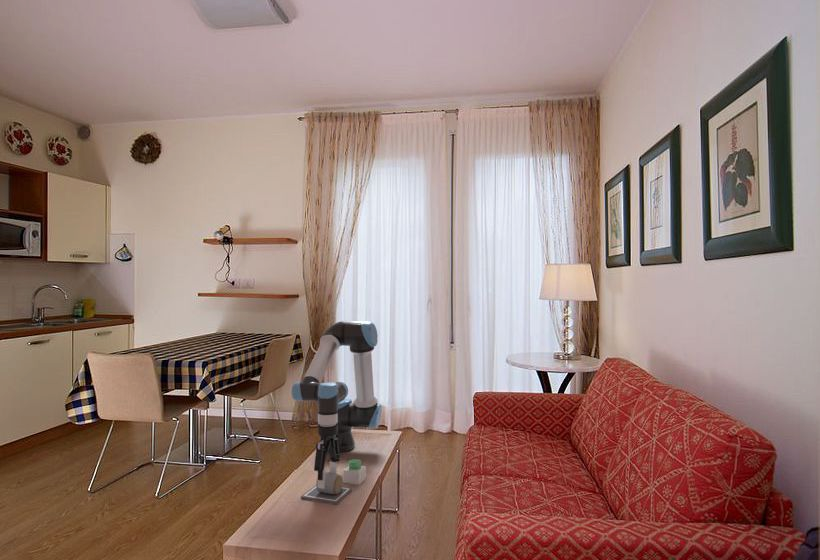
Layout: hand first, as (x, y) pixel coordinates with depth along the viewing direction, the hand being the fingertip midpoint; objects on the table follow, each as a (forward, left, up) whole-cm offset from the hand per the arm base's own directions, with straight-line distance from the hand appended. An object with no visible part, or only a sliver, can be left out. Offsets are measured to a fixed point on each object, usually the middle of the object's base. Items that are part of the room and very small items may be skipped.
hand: (327, 483), depth 186 cm
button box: (-16, +4, -4) cm, 17 cm away
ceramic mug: (-1, +1, -4) cm, 4 cm away
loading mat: (0, 0, -4) cm, 4 cm away
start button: (-16, +4, +1) cm, 17 cm away
